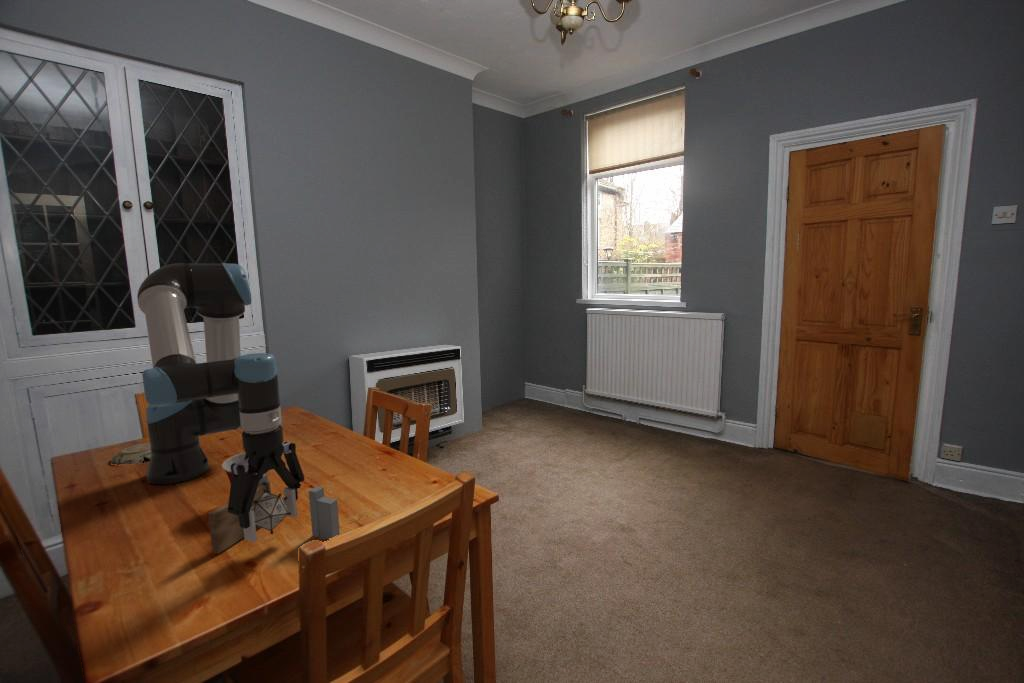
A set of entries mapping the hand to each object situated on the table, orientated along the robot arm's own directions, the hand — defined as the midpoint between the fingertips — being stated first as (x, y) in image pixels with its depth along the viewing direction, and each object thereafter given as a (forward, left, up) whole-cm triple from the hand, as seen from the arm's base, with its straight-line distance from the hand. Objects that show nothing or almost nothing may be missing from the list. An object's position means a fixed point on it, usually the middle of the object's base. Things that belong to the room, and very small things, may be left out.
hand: (272, 527), depth 101 cm
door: (-11, +1, -5) cm, 12 cm away
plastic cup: (-23, +12, -5) cm, 27 cm away
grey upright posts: (-3, +8, -5) cm, 10 cm away
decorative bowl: (-85, +19, -6) cm, 87 cm away
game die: (-1, 0, 0) cm, 1 cm away
